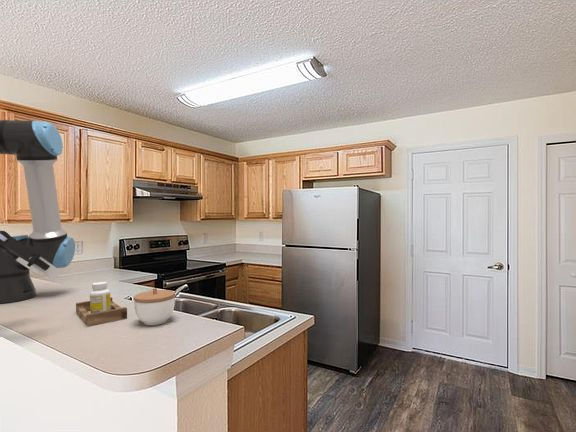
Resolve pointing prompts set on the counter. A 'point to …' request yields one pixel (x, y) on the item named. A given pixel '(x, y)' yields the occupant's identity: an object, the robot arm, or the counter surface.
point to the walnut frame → (100, 313)
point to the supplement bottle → (100, 298)
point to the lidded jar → (154, 306)
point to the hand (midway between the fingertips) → (48, 273)
